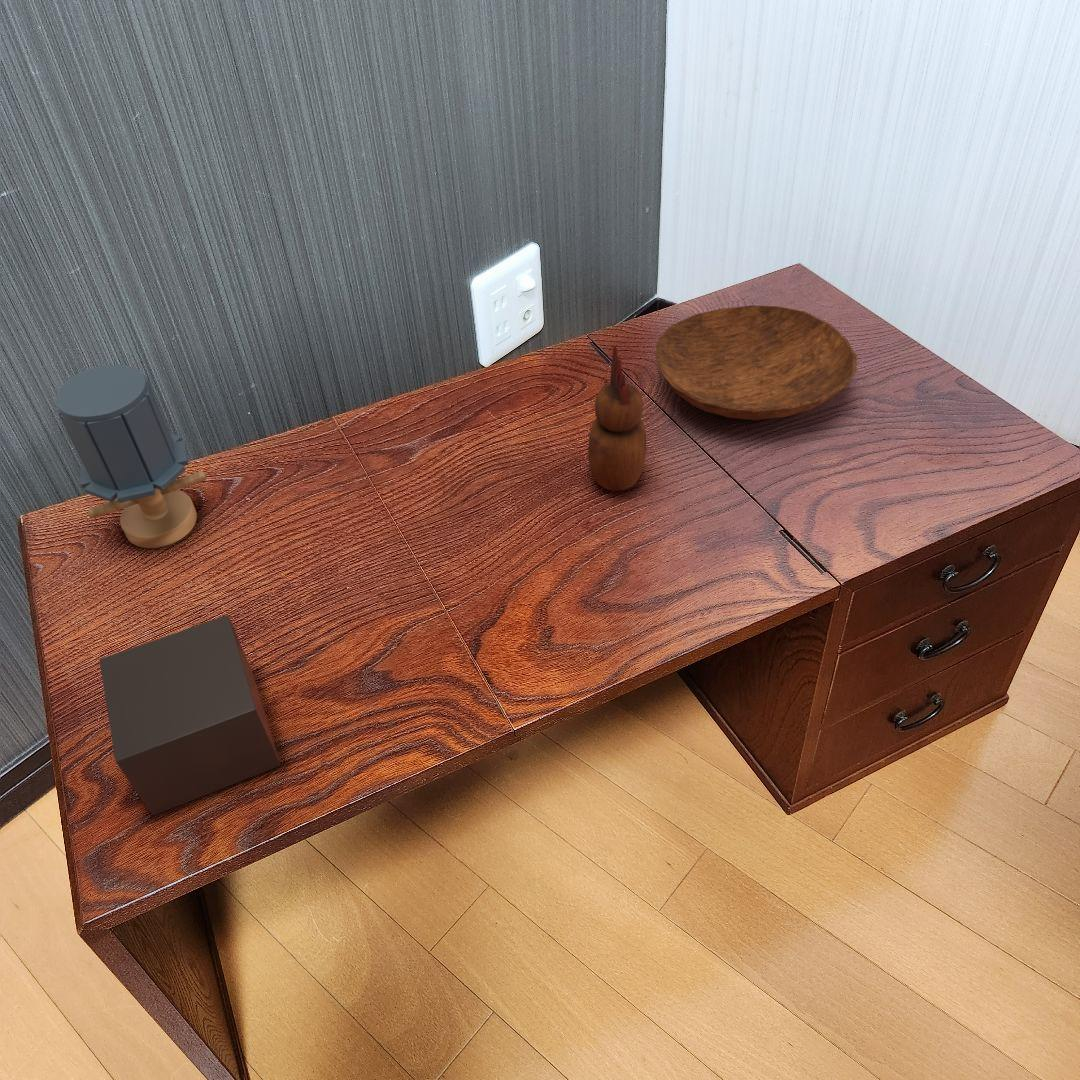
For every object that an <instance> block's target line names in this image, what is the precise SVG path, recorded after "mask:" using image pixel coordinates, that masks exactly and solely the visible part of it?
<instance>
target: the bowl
mask: <svg viewBox="0 0 1080 1080" xmlns="http://www.w3.org/2000/svg"><path fill="white" fill-rule="evenodd" d="M654 356H655V359H656V363H657V366H658V367H657V368H658V370H659V372H660V375H662V377H663V379H665V381H666V382H667V384H668V385H669V386H670V387H671V389H672V390H673V392H674V393H675V394H677V395H678V396H679V397H681V398H682V399H683V400H684V401H686V402H687V403H689V405H691V406H692V407H694V408H697V409H699V410H702V411H704V412H706V413H710V414H713V415H717V416H721V417H725V418H728V419H729V418H730V419H739V420H740V419H741V420H751V421H759V420H767V419H768V420H769V419H779V418H785V417H786V418H787V417H790V416H793V415H794V416H795V415H798V414H801V413H805V412H808V411H810V410H813V409H814V408H816V407H818V406H820V405H822V404H823V403H825V402H826V401H829V400H830V399H832V398H834V397H835V396H837V395H839V394H840V393H841V392H843V390H844V389H846V387H848V386H849V385H850V382H851V381H852V379H853V378H854V376H855V375H856V372H857V371H858V355H857V353H856V352H855V350H854V349H853V347H852V345H851V343H850V342H849V340H848V338H846V337H845V336H844V335H843V334H842V333H841V332H840V331H839V330H838V329H836V327H834V326H833V325H832V324H830V323H829V322H827V321H825V320H823V319H820V318H819V317H817V316H815V315H813V314H810V313H808V312H806V311H804V310H799V309H793V308H789V307H785V306H784V307H783V306H780V305H779V306H778V305H757V304H755V305H754V304H752V305H741V306H732V307H731V306H730V307H723V308H718V309H713V310H709V311H705V312H699V313H695V314H692V315H690V316H688V317H686V318H684V319H682V320H680V321H677V322H675V323H673V324H671V325H668V327H667V329H665V331H664V332H663V333H662V334H661V335H660V337H659V338H658V339H657V343H656V345H655V351H654Z"/></svg>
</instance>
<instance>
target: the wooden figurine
mask: <svg viewBox="0 0 1080 1080" xmlns="http://www.w3.org/2000/svg"><path fill="white" fill-rule="evenodd" d="M612 347H613V349H612V358H611V365H610V366H611V368H610V379H609V383H606V384H604V385H603V386H602V387H601V388H600V390H598V392H597V395H596V396H595V401H594V414H595V419H594V420H593V422H592V425H591V427H590V431H589V435H588V446H587V459H588V466H589V469H590V472H591V475H592V477H593V479H594V481H595V482H596V484H597V485H599V486H600V487H601V488H603V489H605V490H607V491H611V492H615V491H616V492H619V491H625V490H628V489H630V488H632V487H634V485H635V484H636V483H637V481H638V480H639V478H640V477H641V474H642V473H643V469H644V465H645V460H646V454H647V430H646V427H645V423H644V422H643V419H642V416H643V412H644V403H643V397H642V393H641V392H640V390H639V389H638V387H637V386H635V385H633V384H632V383H631V382H628V381H626V378H625V374H624V373H623V369H622V368H623V367H622V359H621V358H618V357H619V356H618V350H617V345H616V344H615V345H613V346H612Z"/></svg>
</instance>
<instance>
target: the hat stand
mask: <svg viewBox="0 0 1080 1080" xmlns="http://www.w3.org/2000/svg"><path fill="white" fill-rule="evenodd" d="M207 477H208V476H207V474H206V472H205V471H196V472H195V473H191V474H188V475H186V476H182V477H178V478H176V479H175V480H174V481H173V482H172V483H171V484H170V485H169V486H168V487H166V488H165V489H164V490H163V491H162V490H159V489H157V488H155V495H152V496H148V497H143V498H139V499H135V500H130V501H126V502H122V503H119V501H118V499H115V500H114V501H113V502H112V503H111V502H108V501H107V502H105V503H103V504H99V505H97V506H93V507H90V508H89V509H88V511H87V515H88V517H89V518H91V519H96V518H97V519H98V518H100V517H102V516H105V515H108V514H111V513H114V512H117V511H120V510H122V511H121V513H120V517H119V520H120V521H119V522H120V526H121V529H122V532H123V533H124V535H125V537H126V539H127V540H128V541H129V542H130V543H131V544H133V545H134V546H137V547H138V548H143V549H157V548H163V547H166V546H170V545H173V544H175V543H176V542H179V541H180V540H182V539H183V538H185V537H186V536H187V535H188V534H189V533H191V531H192V530H193V528H194V527H195V525H196V523H197V520H198V519H197V518H198V513H197V510H196V508H195V505H194V503H193V500H192V499H191V497H190V496H189V494H187V493H186V492H184V491H182V490H181V489H185V488H188V487H191V486H193V485H196V484H199V483H202V482H204V481H206V480H207Z"/></svg>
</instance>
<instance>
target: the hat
mask: <svg viewBox="0 0 1080 1080" xmlns="http://www.w3.org/2000/svg"><path fill="white" fill-rule="evenodd" d="M55 404H56V407H57V409H58V411H57V414H58V417H59V419H60V421H61V422H62V424H63V426H64V429H65V431H66V432H67V435H68V436H69V438H70V440H71V442H72V444H73V446H74V448H75V450H76V452H77V454H78V457H79V458H80V461H81V463H80V487H81V488H82V489H83V490H84V491H85V493H86V494H88V495H90V496H93V497H95V498H98V499H101V500H103V501H105V502H107V503H108V502H111V503H112V502H113V501H114V500H117V499H118V501H119V503H122V502H126V501H130V500H135V499H139V498H143V497H148V496H152V495H155V488H157V489H159V490H162V491H163V490H164V489H165V488H166V487H168V486H169V485H170V484H171V483H172V482H173V481H174V480H176V479H179V478H180V476H181V475H182V474H183V473H184V472H186V470H187V469H186V466H189V456H188V447H187V446H188V445H187V442H186V440H183V438H182V436H180V435H177V434H175V433H173V432H172V433H171V432H170V430H169V428H168V425H167V423H166V420H165V418H164V416H163V413H162V411H161V408H160V405H159V403H158V401H157V398H156V396H155V393H154V391H153V389H152V386H151V383H150V381H149V379H148V377H147V376H146V375H145V374H144V373H143V372H142V371H141V370H139V368H136V367H134V366H131V365H126V364H119V363H118V364H117V363H116V364H105V365H98V366H95V367H92V368H88V369H86V370H83V371H81V372H79V373H77V374H75V375H74V376H72V377H71V378H69V379H67V381H66V382H64V383H63V384H62V385H61V387H60V388H59V389H58V391H57V393H56V396H55Z"/></svg>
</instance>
